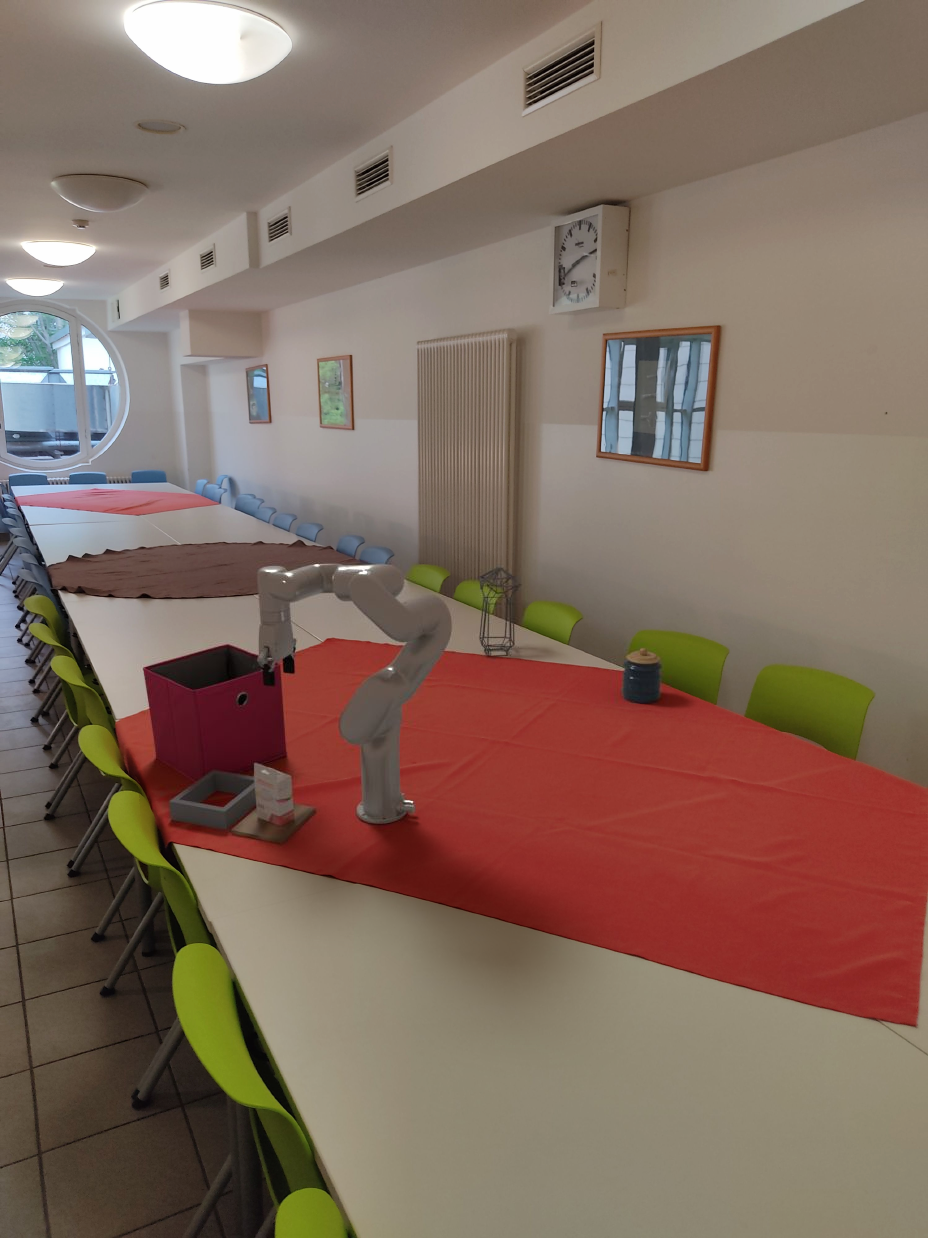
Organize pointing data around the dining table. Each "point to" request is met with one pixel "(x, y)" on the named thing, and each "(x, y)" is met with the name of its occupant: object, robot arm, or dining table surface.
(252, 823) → the walnut mat
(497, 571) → the geometric lantern
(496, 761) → the dining table surface
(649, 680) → the canister
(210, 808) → the gray rectangular frame
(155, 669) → the storage bin
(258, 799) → the ink cartridge box
